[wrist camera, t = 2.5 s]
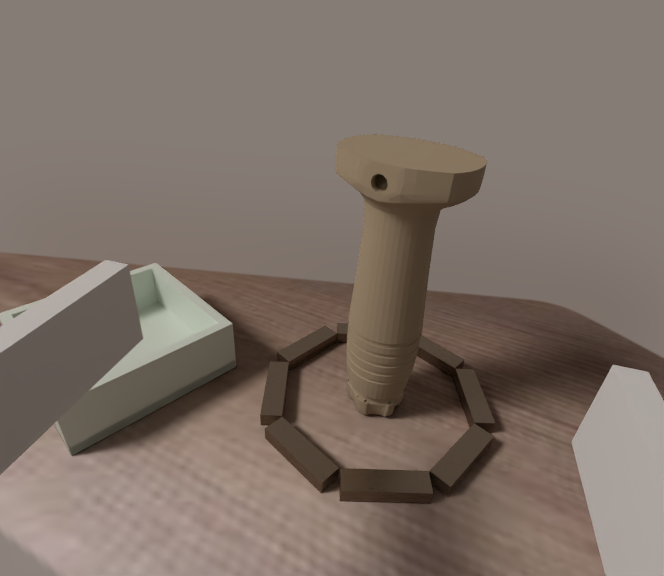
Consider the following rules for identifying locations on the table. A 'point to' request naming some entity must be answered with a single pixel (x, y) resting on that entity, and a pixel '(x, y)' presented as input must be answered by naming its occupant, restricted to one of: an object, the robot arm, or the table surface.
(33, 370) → the robot arm
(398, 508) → the table surface
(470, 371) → the collar ring
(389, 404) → the handle
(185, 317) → the bin
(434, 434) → the table surface
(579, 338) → the table surface
